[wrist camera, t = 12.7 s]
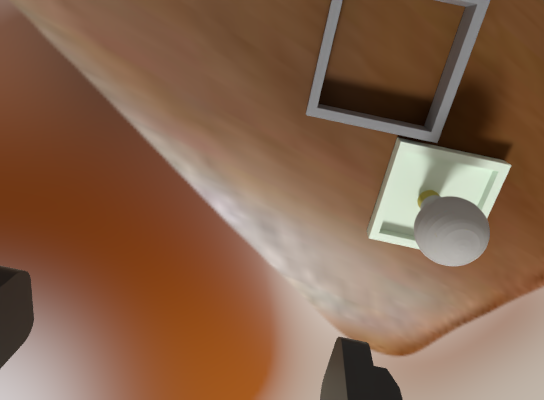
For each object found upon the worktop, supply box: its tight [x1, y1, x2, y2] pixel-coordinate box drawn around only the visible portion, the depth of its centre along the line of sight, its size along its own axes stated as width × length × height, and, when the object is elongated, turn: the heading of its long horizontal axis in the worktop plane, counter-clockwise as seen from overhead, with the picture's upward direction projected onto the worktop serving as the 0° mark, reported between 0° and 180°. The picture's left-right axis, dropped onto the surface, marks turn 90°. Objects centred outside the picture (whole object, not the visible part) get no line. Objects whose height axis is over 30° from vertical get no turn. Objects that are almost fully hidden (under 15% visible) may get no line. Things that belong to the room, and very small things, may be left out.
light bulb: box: [414, 190, 490, 266], centre depth 33 cm, size 5×5×10 cm
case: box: [306, 0, 490, 143], centre depth 33 cm, size 12×12×2 cm
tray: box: [367, 137, 511, 249], centre depth 38 cm, size 10×10×2 cm
